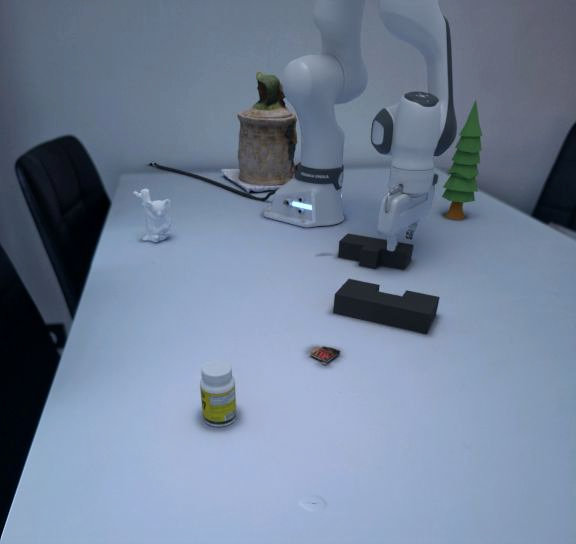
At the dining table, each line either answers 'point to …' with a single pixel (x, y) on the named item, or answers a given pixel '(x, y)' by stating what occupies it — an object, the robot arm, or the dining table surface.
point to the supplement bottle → (218, 393)
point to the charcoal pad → (386, 306)
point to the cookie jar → (265, 140)
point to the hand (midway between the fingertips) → (401, 244)
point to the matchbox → (324, 353)
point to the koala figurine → (155, 216)
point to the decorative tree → (464, 167)
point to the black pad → (374, 252)
